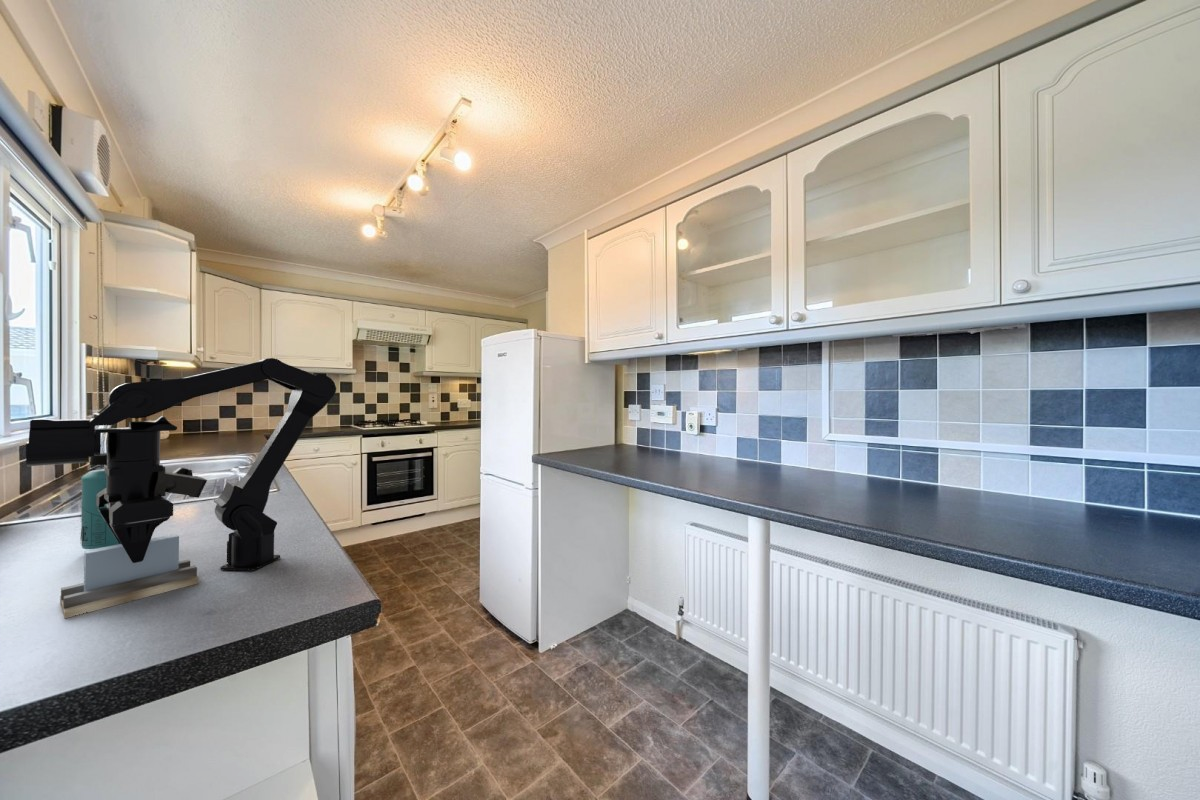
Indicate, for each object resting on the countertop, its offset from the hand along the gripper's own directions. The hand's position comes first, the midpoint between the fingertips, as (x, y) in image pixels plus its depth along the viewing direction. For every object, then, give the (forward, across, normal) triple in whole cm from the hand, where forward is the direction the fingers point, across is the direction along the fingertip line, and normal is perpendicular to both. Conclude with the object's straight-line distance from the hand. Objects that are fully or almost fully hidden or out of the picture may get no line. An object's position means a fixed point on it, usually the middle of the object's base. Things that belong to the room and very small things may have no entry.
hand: (132, 555), depth 67 cm
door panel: (+5, 0, 0) cm, 5 cm away
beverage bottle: (+6, +30, 0) cm, 30 cm away
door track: (+6, 0, 0) cm, 6 cm away
